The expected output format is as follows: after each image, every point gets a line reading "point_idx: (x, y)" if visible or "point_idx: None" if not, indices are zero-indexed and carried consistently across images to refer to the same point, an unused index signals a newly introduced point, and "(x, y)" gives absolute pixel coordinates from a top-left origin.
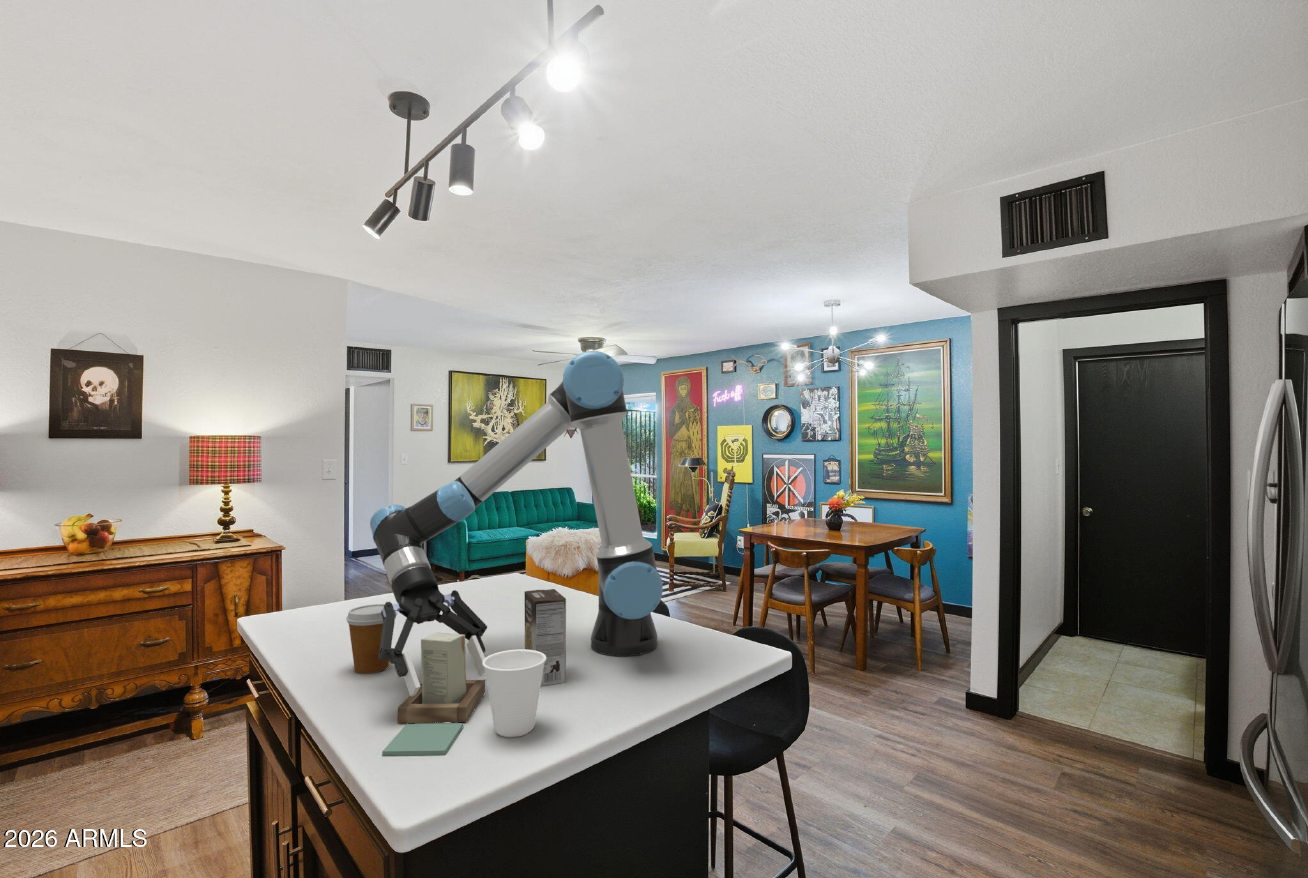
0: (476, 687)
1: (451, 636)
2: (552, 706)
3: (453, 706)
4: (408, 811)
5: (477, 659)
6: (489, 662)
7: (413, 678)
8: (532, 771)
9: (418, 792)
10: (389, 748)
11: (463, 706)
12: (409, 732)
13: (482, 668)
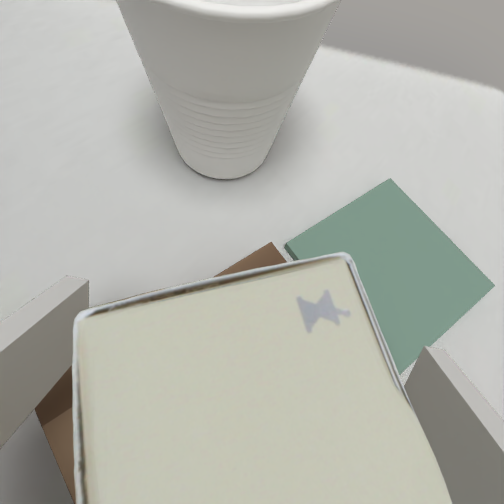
0: None
1: (227, 395)
2: (69, 148)
3: None
4: (498, 112)
5: (39, 359)
6: (263, 37)
7: (471, 384)
8: None
9: (471, 133)
10: (477, 284)
11: (272, 252)
12: (409, 319)
13: (81, 309)
